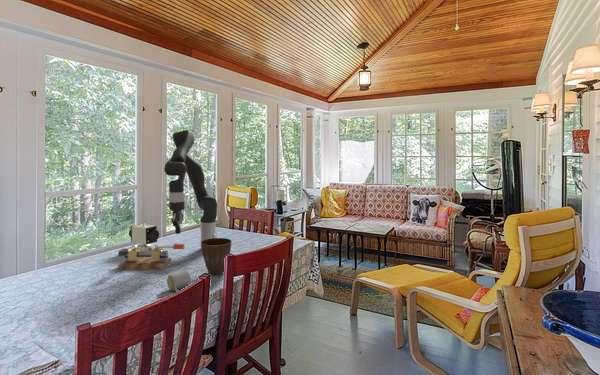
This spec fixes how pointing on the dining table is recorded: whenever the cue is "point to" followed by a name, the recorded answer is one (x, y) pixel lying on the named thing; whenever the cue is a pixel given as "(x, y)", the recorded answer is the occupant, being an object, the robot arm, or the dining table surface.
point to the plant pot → (215, 254)
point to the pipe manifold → (146, 255)
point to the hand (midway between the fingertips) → (178, 233)
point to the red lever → (175, 246)
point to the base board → (144, 264)
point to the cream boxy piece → (144, 235)
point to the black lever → (126, 250)
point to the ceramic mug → (178, 280)
